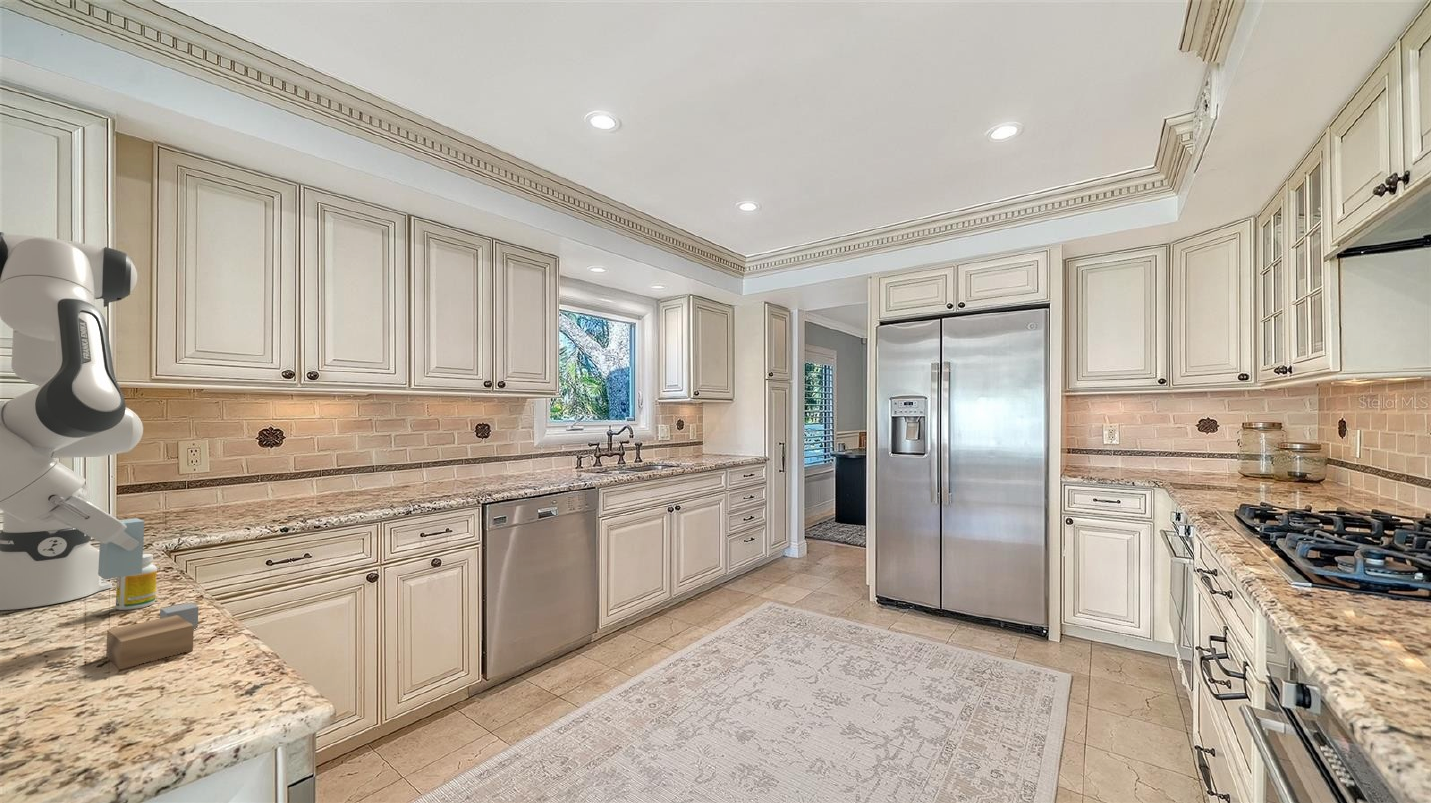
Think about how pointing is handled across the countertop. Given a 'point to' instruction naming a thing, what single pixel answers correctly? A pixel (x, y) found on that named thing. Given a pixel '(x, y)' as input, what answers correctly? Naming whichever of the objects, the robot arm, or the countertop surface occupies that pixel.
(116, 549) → the pillar
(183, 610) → the block
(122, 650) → the plinth
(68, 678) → the countertop surface
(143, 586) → the supplement bottle
